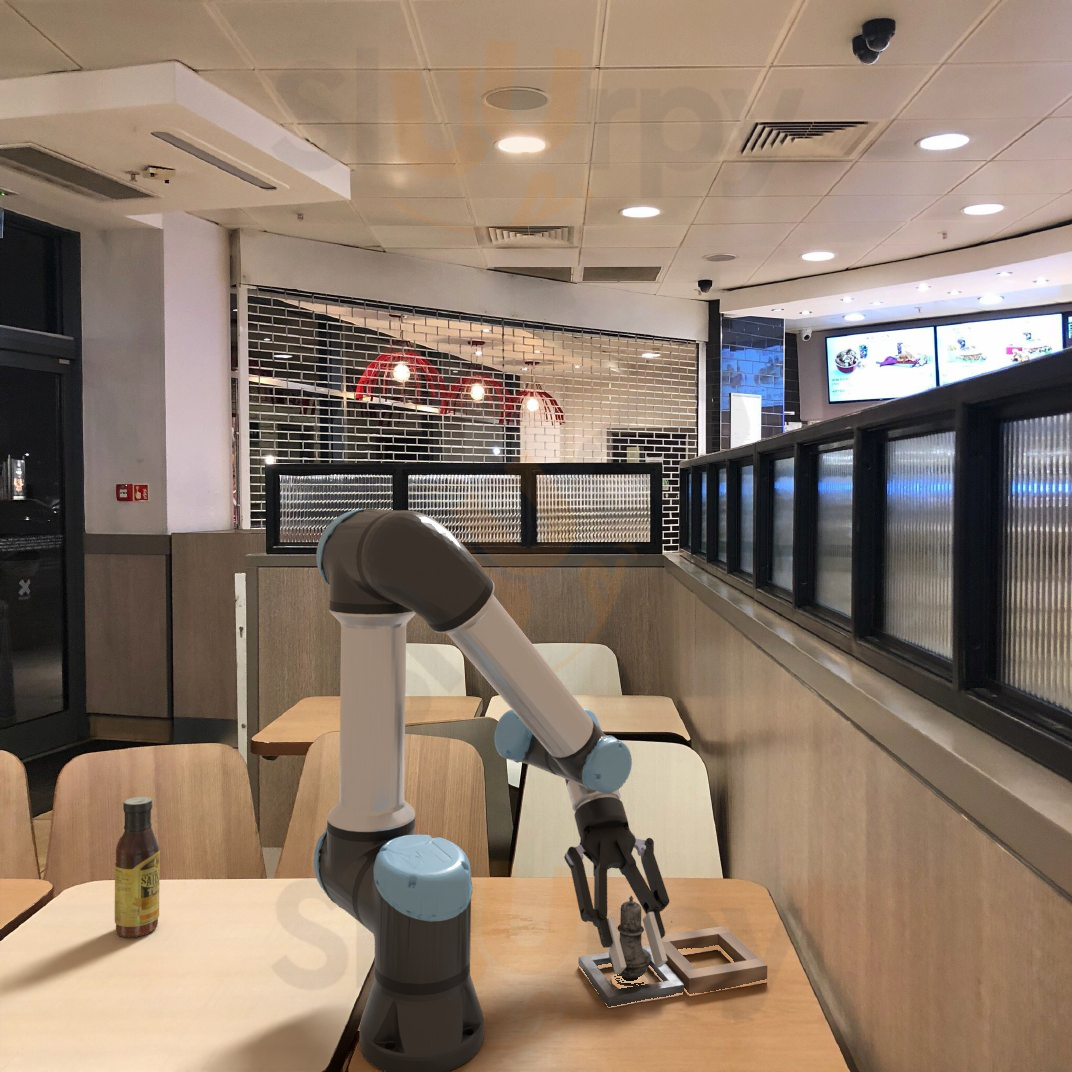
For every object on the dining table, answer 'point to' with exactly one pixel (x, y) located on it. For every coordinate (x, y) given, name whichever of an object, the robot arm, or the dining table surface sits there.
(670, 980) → the metal collar
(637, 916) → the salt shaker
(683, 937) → the walnut holder block
